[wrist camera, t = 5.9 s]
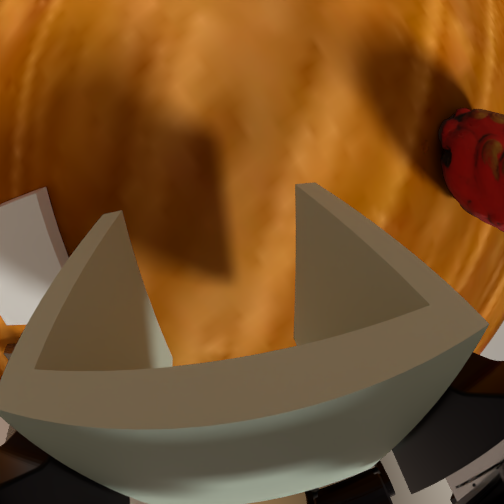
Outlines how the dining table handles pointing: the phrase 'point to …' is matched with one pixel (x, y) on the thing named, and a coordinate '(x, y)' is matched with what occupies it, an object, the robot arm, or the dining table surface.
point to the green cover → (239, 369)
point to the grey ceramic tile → (27, 254)
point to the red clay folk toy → (475, 162)
